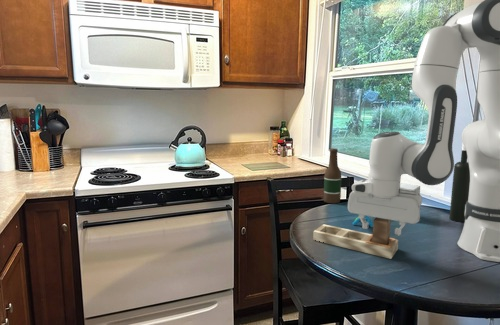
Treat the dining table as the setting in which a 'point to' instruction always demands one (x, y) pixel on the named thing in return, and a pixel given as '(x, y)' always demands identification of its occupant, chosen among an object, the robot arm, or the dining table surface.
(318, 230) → the wooden compartment tray
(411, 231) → the dining table surface
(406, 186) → the supplement box
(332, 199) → the beer bottle
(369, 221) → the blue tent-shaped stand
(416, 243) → the dining table surface
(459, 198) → the wine bottle
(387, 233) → the peg
